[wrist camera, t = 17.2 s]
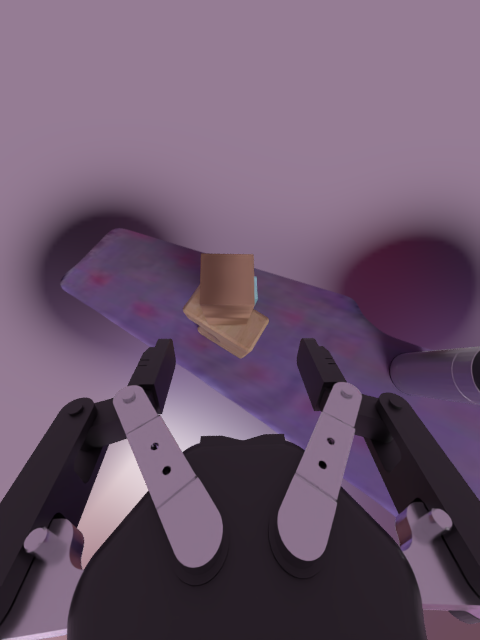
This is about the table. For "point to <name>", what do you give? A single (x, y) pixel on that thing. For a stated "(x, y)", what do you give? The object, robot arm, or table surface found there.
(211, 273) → the tan long block
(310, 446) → the robot arm
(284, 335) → the table surface
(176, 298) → the table surface
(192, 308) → the decorative block
